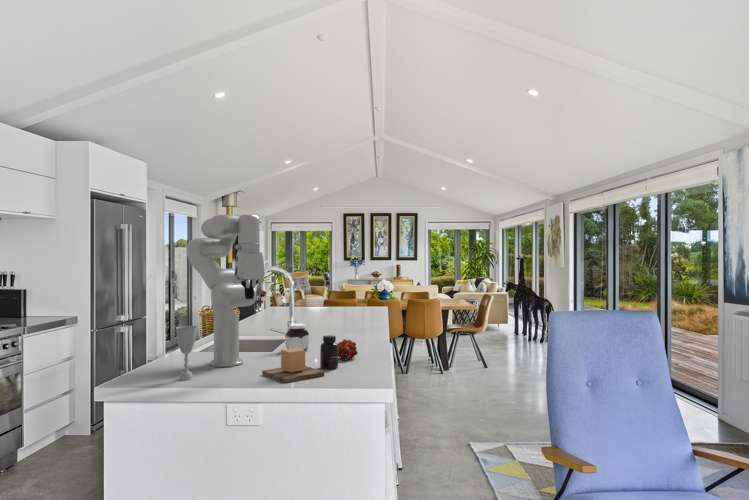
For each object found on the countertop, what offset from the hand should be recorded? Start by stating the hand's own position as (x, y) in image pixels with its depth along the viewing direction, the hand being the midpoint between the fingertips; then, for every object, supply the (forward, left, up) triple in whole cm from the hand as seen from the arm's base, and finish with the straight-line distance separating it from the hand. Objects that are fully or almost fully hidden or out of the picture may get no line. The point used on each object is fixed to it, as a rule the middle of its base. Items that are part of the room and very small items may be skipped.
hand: (249, 298), depth 194 cm
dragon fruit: (+3, +42, -27) cm, 50 cm away
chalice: (-6, -21, -27) cm, 35 cm away
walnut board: (+14, +10, -27) cm, 32 cm away
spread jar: (-24, +35, -27) cm, 51 cm away
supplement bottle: (+12, +27, -27) cm, 40 cm away
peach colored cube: (+14, +10, -25) cm, 30 cm away
